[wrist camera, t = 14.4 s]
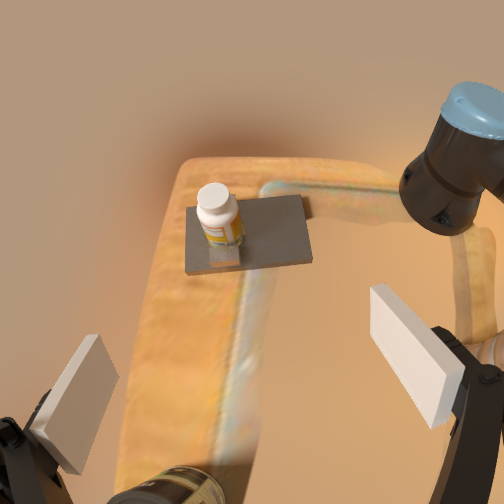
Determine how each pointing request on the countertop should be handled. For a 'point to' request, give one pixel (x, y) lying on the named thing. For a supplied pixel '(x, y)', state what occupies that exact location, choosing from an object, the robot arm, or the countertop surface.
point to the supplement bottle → (219, 215)
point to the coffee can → (174, 489)
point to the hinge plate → (252, 238)
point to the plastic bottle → (489, 350)
